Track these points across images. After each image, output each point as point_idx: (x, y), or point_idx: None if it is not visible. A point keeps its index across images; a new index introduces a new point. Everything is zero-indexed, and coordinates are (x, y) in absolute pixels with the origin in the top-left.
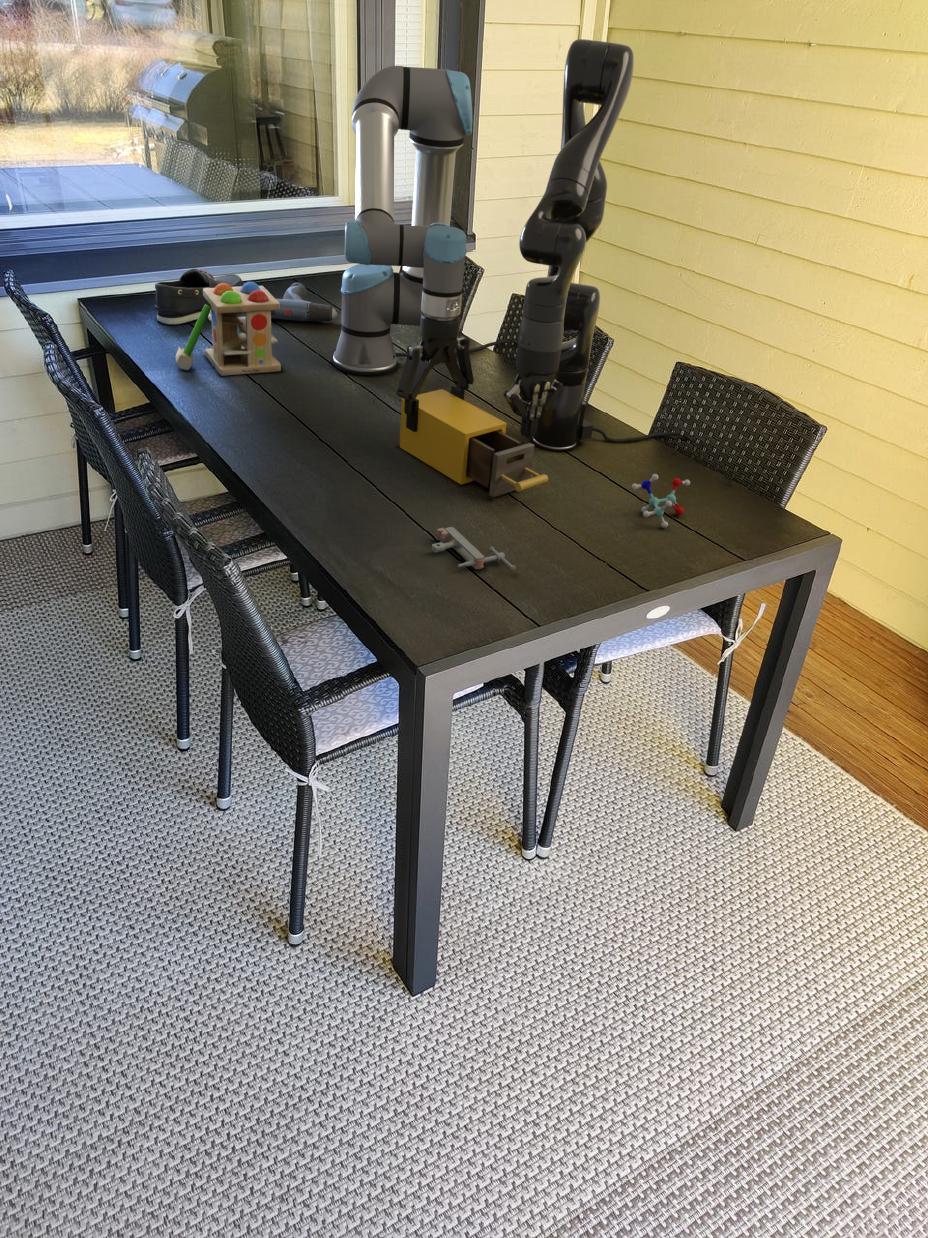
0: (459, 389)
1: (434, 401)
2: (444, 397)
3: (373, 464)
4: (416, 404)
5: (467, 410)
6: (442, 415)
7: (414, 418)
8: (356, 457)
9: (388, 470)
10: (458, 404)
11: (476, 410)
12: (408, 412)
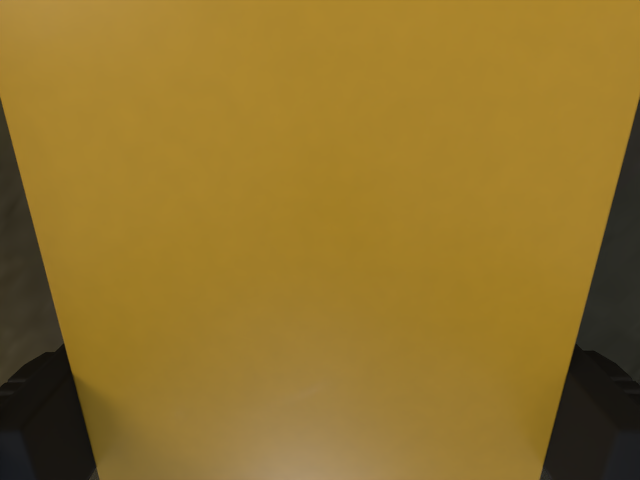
0: (8, 450)
1: (341, 406)
2: (200, 430)
3: (628, 251)
4: (621, 397)
5: (166, 68)
6: (535, 100)
7: None
8: (627, 330)
9: (628, 174)
10: (167, 257)
11: (52, 6)
12: (620, 371)
